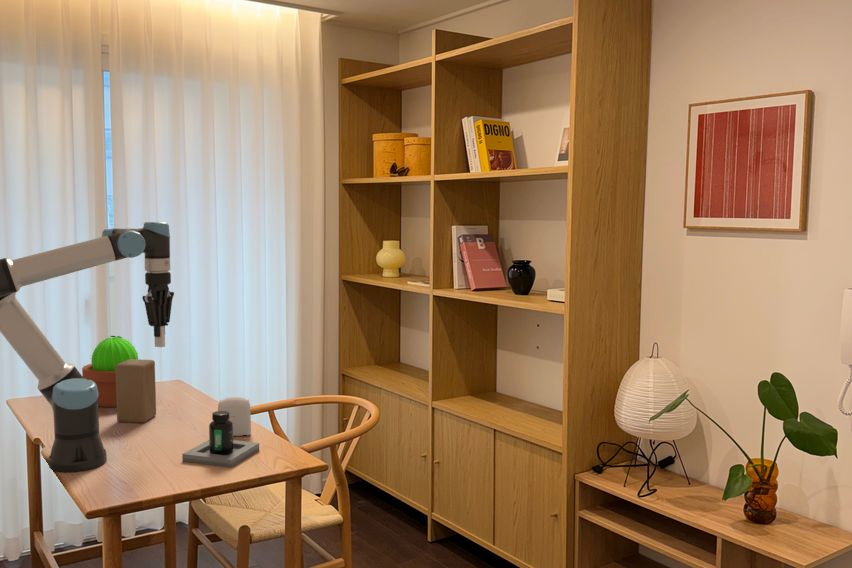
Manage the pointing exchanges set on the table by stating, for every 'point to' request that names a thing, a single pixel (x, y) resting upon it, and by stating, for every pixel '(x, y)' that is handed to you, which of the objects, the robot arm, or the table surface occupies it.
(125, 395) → the wooden block
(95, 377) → the potted cactus
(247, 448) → the base plate
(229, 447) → the supplement bottle
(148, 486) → the table surface
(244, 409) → the photo printer
